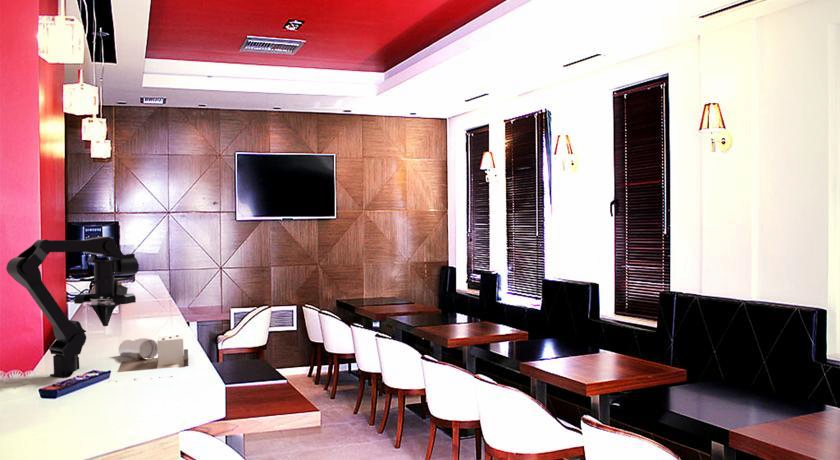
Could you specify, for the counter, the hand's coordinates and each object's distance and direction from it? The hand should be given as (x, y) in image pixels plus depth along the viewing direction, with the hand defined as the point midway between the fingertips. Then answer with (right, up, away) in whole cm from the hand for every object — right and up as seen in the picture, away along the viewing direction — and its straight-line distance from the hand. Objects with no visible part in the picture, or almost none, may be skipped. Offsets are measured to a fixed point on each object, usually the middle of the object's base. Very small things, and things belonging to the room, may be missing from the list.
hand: (105, 326), depth 223 cm
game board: (+16, -12, -2) cm, 21 cm away
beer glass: (+1, -10, +14) cm, 17 cm away
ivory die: (+21, -11, -1) cm, 24 cm away
